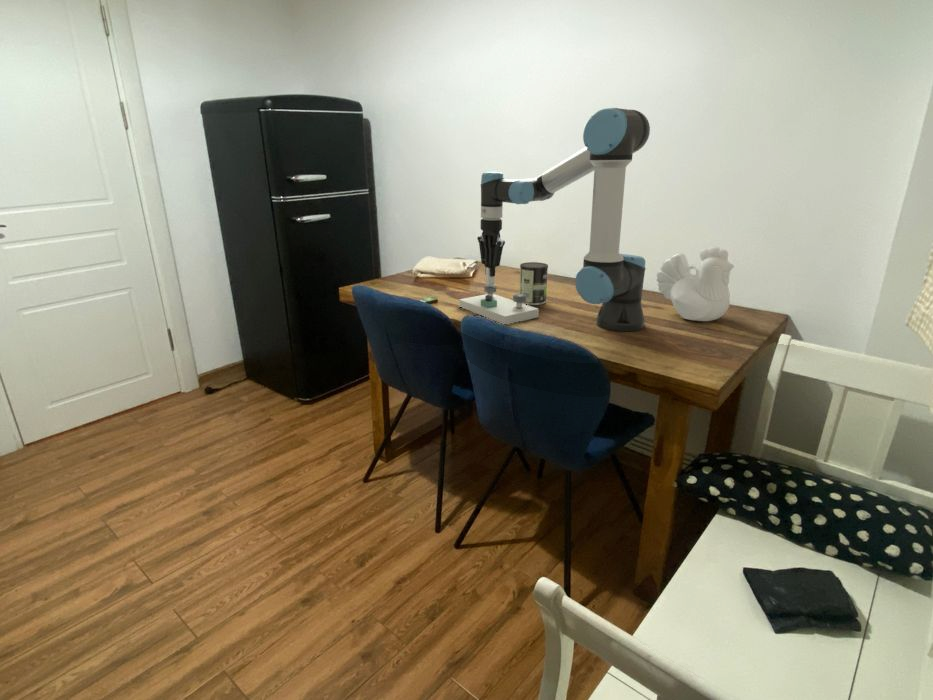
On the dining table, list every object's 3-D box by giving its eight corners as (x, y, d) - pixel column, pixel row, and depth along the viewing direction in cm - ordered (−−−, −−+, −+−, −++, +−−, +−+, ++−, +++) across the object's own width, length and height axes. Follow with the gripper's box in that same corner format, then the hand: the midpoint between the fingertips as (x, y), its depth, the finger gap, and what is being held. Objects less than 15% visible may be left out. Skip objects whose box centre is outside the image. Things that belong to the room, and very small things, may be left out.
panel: (538, 317, 187) (538, 308, 186) (504, 325, 179) (505, 316, 178) (491, 300, 207) (491, 293, 206) (459, 307, 199) (459, 299, 197)
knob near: (528, 309, 187) (528, 295, 185) (518, 311, 185) (518, 297, 183) (519, 306, 190) (520, 293, 189) (510, 308, 188) (510, 295, 186)
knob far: (498, 299, 199) (498, 286, 198) (489, 301, 197) (489, 288, 195) (491, 296, 203) (491, 284, 201) (481, 298, 200) (481, 286, 198)
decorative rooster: (736, 321, 182) (749, 247, 173) (706, 329, 174) (718, 252, 166) (674, 304, 202) (684, 236, 193) (645, 310, 194) (653, 240, 186)
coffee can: (547, 298, 210) (548, 262, 205) (545, 306, 200) (547, 268, 195) (520, 297, 212) (521, 261, 207) (517, 304, 202) (518, 267, 197)
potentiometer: (496, 306, 189) (497, 296, 188) (487, 308, 187) (487, 297, 186) (489, 303, 192) (489, 293, 191) (480, 305, 190) (480, 295, 189)
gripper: (471, 217, 192) (471, 282, 201) (494, 221, 182) (493, 289, 191) (488, 215, 196) (487, 279, 205) (511, 219, 187) (509, 286, 195)
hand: (490, 284), depth 198 cm, fingers closed
